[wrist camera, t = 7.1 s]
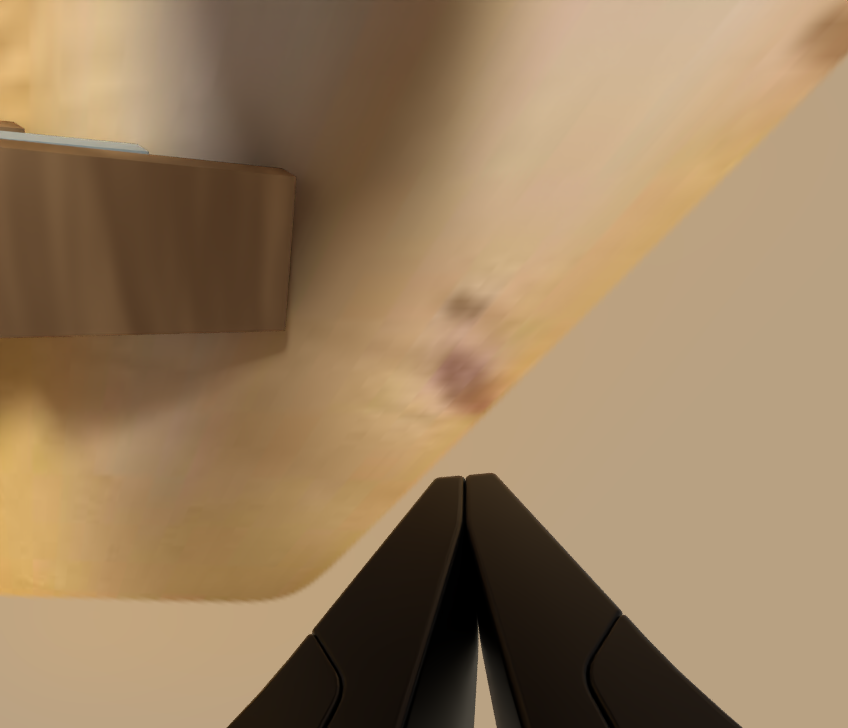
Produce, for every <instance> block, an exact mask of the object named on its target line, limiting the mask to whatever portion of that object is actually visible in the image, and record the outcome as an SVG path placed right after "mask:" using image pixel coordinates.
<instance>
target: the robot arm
mask: <svg viewBox="0 0 848 728" xmlns="http://www.w3.org/2000/svg"><path fill="white" fill-rule="evenodd" d="M478 627H479V634H480V641H481V647H482V653H483V659H484V664H485V669H486V674H487V680H488V685H489V689H490V695H491V700H492V705H493V710H494V715H495V720H496V725H497V728H742V727H741V726H740V725H739V724H737V723H736V722H735V721H734V720H733V719H732V718H731V717H729V716H728V715H727V714H726V713H725V712H724V711H723V710H721V709H720V708H719V707H718V706H717V705H716V704H715V703H714V702H713V701H711V700H710V699H709V698H708V697H707V696H706V695H705V694H704V693H703V692H701V691H700V690H699V689H698V688H697V687H696V686H695V685H694V684H693V683H692V682H691V681H689V680H688V679H687V678H686V677H685V676H684V675H683V674H682V673H681V672H680V671H679V670H678V669H677V668H676V667H675V666H673V665H672V663H671V662H670V661H669V660H668V659H667V658H666V657H665V656H664V655H663V654H662V653H661V652H660V651H659V650H658V649H657V648H656V647H655V646H654V645H653V644H652V643H651V642H650V641H649V640H648V639H647V638H646V637H645V636H644V635H643V634H642V632H640V630H639V629H638V628H637V627H636V626H635V625H634V624H633V623H632V622H631V620H630V619H629V618H628V617H627V616H625V615H622V611H621V610H620V609H619V608H618V607H617V606H616V604H615V603H614V602H613V601H612V600H611V599H610V598H609V597H608V596H607V595H606V594H605V593H604V591H603V590H601V588H600V587H599V586H598V585H597V584H596V583H595V582H594V581H593V580H592V578H591V577H590V576H589V575H588V574H587V573H586V572H585V571H584V570H583V569H582V568H581V567H580V566H579V564H578V563H577V562H576V561H575V560H574V559H573V558H572V557H571V556H570V555H569V554H568V553H567V551H566V550H565V549H564V548H563V547H562V546H561V545H560V544H559V543H558V542H557V541H556V539H555V538H554V537H553V536H552V535H551V534H550V533H549V532H548V531H547V530H546V529H545V527H543V526H542V525H541V523H540V522H539V521H538V520H537V519H536V518H535V517H534V516H533V515H532V514H531V512H530V511H529V510H528V509H527V508H526V507H525V506H524V505H523V504H522V503H521V502H520V501H519V499H518V498H517V497H516V496H515V495H514V494H513V493H512V492H511V491H510V490H509V489H508V487H507V486H506V485H505V484H504V483H503V482H502V481H501V480H500V479H499V478H498V477H497V475H495V474H493V473H486V474H474V475H469V476H467V477H466V480H465V479H464V477H462V476H451V477H439V478H436V479H435V480H434V481H433V482H432V483H431V484H430V486H429V487H428V488H427V489H426V491H425V492H424V493H423V494H422V496H421V497H420V498H419V499H418V500H417V502H416V503H415V504H414V505H413V507H412V508H411V509H410V510H409V512H408V513H407V514H406V515H405V517H404V518H403V519H402V520H401V521H400V523H399V524H398V525H397V526H396V528H395V529H394V530H393V531H392V533H391V534H390V535H389V536H388V537H387V539H386V540H385V541H384V542H383V544H382V545H381V546H380V547H379V549H378V550H377V551H376V552H375V554H374V555H373V556H372V557H371V559H370V560H369V561H368V562H367V563H366V565H365V566H364V567H363V568H362V570H361V571H360V572H359V573H358V575H357V576H356V577H355V578H354V579H353V581H352V582H351V583H350V584H349V586H348V587H347V588H346V589H345V591H344V592H343V593H342V594H341V596H340V597H339V598H338V599H337V601H336V602H335V603H334V604H333V605H332V607H331V608H330V609H329V610H328V612H327V613H326V614H325V615H324V617H323V618H322V619H321V620H320V622H319V623H318V624H317V625H316V626H315V628H314V629H313V631H312V634H313V635H312V634H310V635H308V636H307V637H306V638H305V640H304V641H303V642H302V643H301V645H300V646H299V647H298V648H297V649H296V651H295V652H294V653H293V654H292V656H291V657H290V658H289V660H287V662H286V663H285V664H284V665H283V666H282V668H281V669H280V670H279V671H278V672H277V673H276V674H275V676H274V677H273V678H272V679H271V680H270V681H269V683H268V684H267V685H266V686H265V687H264V688H263V690H262V691H261V692H260V693H259V694H258V695H257V696H256V697H255V698H254V699H253V701H251V703H250V704H249V705H248V706H247V707H246V708H245V709H244V710H243V711H242V712H241V713H240V714H239V715H238V716H237V717H236V718H235V720H234V721H233V722H232V723H231V724H230V725H229V726H228V727H227V728H474V715H475V698H476V681H477V664H478V663H477V662H478V639H479V638H478Z"/></svg>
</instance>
